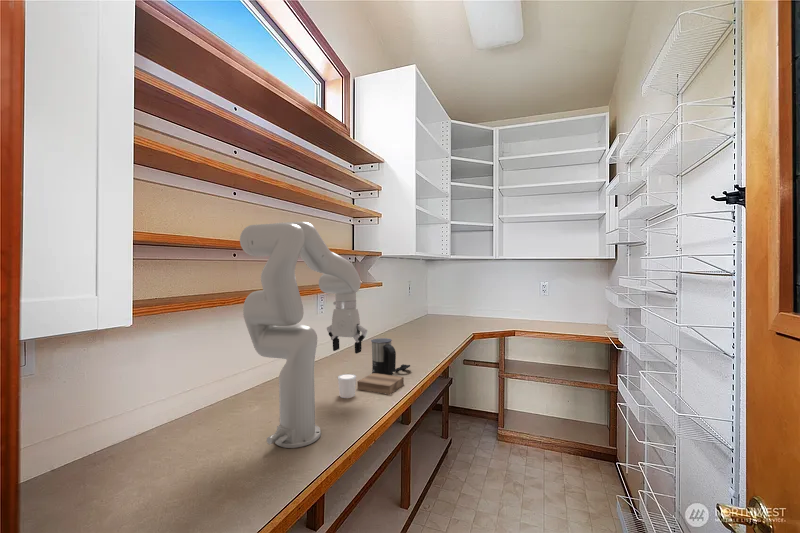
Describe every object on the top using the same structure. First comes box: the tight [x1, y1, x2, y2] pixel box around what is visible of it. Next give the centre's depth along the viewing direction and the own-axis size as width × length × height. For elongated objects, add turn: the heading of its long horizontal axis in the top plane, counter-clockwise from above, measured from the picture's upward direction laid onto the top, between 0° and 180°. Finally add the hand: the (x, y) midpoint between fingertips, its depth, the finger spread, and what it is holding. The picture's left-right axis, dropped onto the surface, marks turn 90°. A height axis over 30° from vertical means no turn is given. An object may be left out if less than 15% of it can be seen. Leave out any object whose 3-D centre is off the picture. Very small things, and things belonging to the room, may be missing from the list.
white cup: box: [337, 373, 357, 399], centre depth 134 cm, size 7×7×7 cm
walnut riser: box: [356, 372, 405, 395], centre depth 143 cm, size 12×14×3 cm
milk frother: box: [371, 337, 411, 375], centre depth 161 cm, size 14×16×15 cm
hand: (347, 351), depth 135 cm, fingers open, 9 cm apart
